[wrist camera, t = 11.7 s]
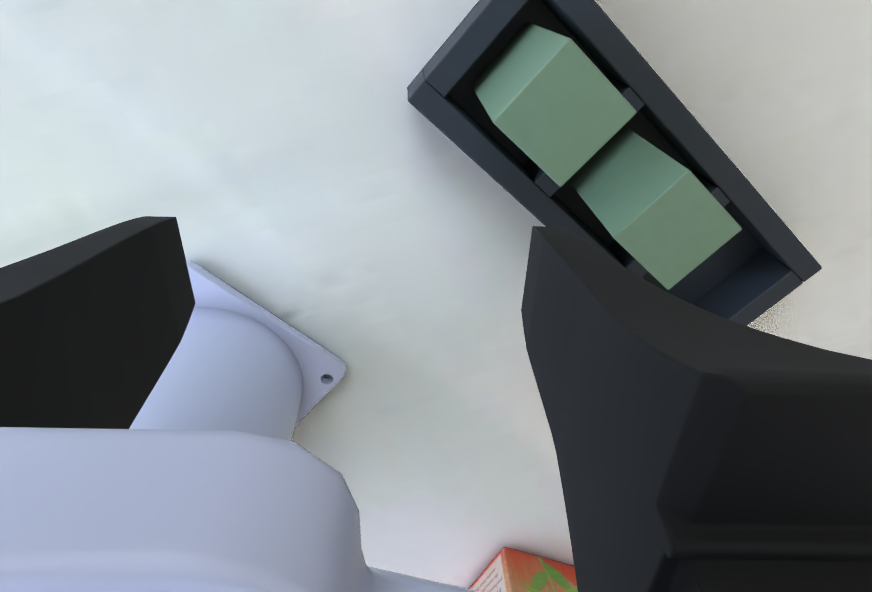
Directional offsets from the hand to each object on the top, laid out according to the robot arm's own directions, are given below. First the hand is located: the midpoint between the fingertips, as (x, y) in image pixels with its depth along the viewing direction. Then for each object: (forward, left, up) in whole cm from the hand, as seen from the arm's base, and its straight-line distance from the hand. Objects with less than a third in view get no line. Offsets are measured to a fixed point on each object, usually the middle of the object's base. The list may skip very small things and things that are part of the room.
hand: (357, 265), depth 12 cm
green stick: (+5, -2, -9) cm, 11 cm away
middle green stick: (+5, -7, -9) cm, 13 cm away
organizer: (+5, -7, -10) cm, 13 cm away
